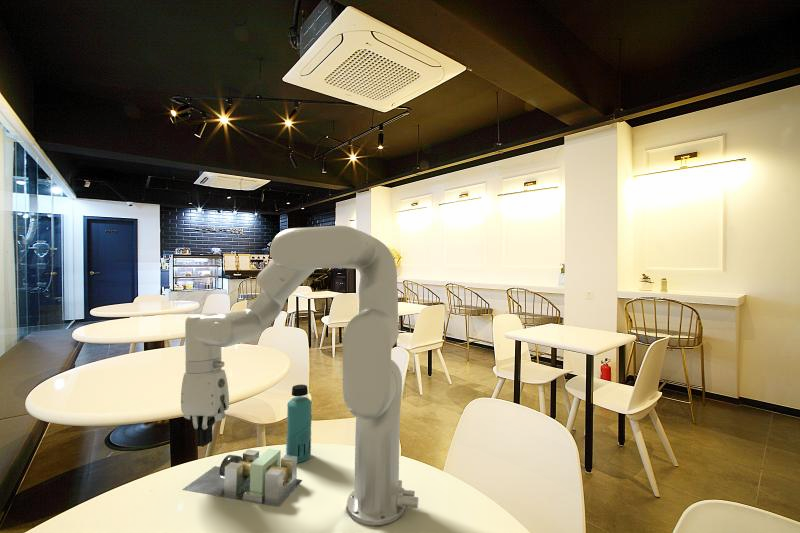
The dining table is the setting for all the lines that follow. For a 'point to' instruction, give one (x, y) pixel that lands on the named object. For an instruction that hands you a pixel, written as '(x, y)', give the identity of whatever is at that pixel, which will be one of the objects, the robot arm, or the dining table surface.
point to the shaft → (246, 467)
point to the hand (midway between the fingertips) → (204, 443)
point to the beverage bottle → (299, 424)
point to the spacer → (262, 469)
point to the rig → (248, 482)
